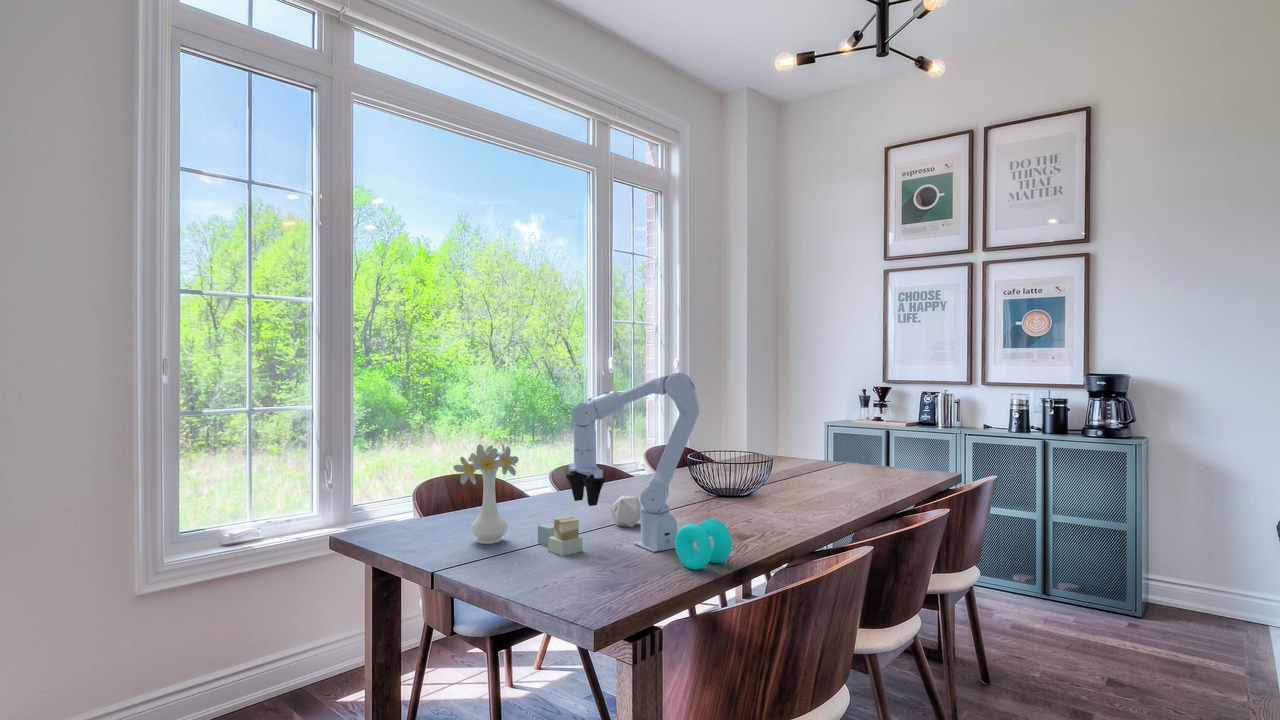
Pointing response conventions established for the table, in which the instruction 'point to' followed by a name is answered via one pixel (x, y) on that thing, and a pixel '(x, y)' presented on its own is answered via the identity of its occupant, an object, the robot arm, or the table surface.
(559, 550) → the pale green block
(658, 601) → the table surface
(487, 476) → the flower vase
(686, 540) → the donuts
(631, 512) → the die
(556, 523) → the beech cube
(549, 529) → the slate cube
